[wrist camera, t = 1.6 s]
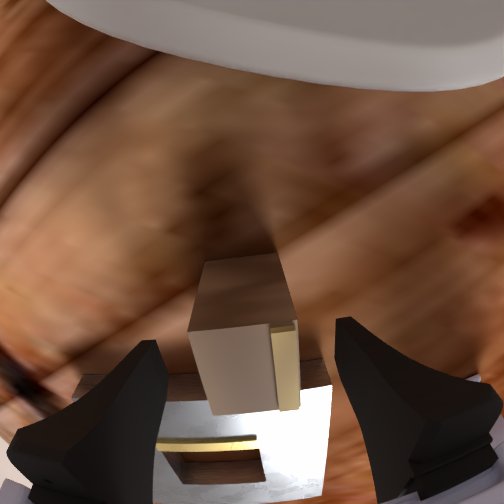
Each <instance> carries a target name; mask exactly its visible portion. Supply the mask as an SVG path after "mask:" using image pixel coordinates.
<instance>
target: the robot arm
mask: <svg viewBox="0 0 504 504" xmlns="http://www.w3.org/2000/svg"><path fill="white" fill-rule="evenodd" d="M335 361H336V365H337V369H338V372H339V376H340V379H341V381H342V384H343V386H344V388H345V391H346V393H347V396H348V398H349V400H350V403H351V405H352V407H353V410H354V412H355V414H356V417H357V419H358V422H359V424H360V427H361V430H362V434H363V438H364V441H365V445H366V449H367V453H368V457H369V461H370V465H371V470H372V475H373V480H374V485H375V491H376V497H377V503H378V504H504V419H503V417H502V416H501V411H502V408H503V401H502V399H501V398H500V397H499V395H498V394H497V393H496V391H495V390H494V389H493V387H492V386H491V385H490V384H487V383H481V382H480V380H481V376H480V375H479V374H478V375H475V376H472V377H470V378H467V379H461V378H458V377H454V376H451V375H448V374H445V373H442V372H439V371H437V370H434V369H431V368H429V367H427V366H424V365H422V364H420V363H418V362H416V361H414V360H412V359H410V358H408V357H407V356H405V355H403V354H401V353H400V352H398V351H397V350H395V349H393V348H392V347H390V346H389V345H387V344H386V343H385V342H383V341H382V340H380V339H379V338H378V337H376V336H375V335H374V334H372V333H371V332H370V331H368V330H367V329H366V328H365V327H363V326H362V325H361V324H360V323H358V322H357V321H356V320H355V319H353V318H352V317H351V316H350V317H344V318H338V319H336V331H335ZM168 381H169V375H168V373H167V370H166V367H165V365H164V362H163V359H162V356H161V354H160V351H159V348H158V345H157V342H156V340H142V341H141V342H140V343H139V344H138V345H137V346H136V347H135V348H134V349H133V350H132V351H131V352H130V353H129V354H128V355H127V356H126V357H125V358H124V359H123V360H122V361H121V362H120V363H119V364H118V365H117V366H116V367H115V368H114V369H113V370H112V371H111V372H110V373H109V374H108V375H107V376H106V377H105V378H104V379H103V380H102V381H101V382H99V383H98V384H97V385H96V386H95V387H94V388H93V389H91V390H90V391H89V392H88V393H86V394H85V395H84V396H82V397H81V398H80V399H78V400H77V401H75V402H73V403H72V404H70V405H69V406H67V407H66V408H64V409H62V410H61V411H59V412H57V413H55V414H53V415H52V416H49V417H47V418H45V419H43V420H41V421H39V422H36V423H34V424H31V425H28V426H26V427H23V428H20V429H18V430H17V432H16V434H15V436H14V438H13V439H12V441H11V443H10V445H9V447H8V449H7V452H6V453H7V456H8V458H9V460H10V462H11V463H12V464H13V465H14V466H15V467H16V468H17V469H18V470H19V471H20V472H21V473H22V474H23V475H24V476H25V477H26V478H27V479H28V480H29V481H30V482H32V483H33V486H32V488H31V489H29V488H28V487H26V486H24V485H22V484H19V483H16V482H14V481H12V480H9V479H5V480H4V482H3V484H2V487H1V489H0V504H153V470H154V457H155V448H156V442H157V437H158V433H159V428H160V424H161V420H162V416H163V412H164V407H165V403H166V399H167V391H168Z"/></svg>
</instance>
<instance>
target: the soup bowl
mask: <svg viewBox="0 0 504 504" xmlns="http://www.w3.org/2000/svg"><path fill="white" fill-rule="evenodd" d="M46 1H47V2H48V3H50V4H51V5H52V6H54V7H55V8H56V9H58V10H59V11H60V12H62V13H64V14H66V15H67V16H69V17H71V18H73V19H75V20H76V21H78V22H80V23H82V24H84V25H86V26H89V27H91V28H93V29H96V30H98V31H100V32H103V33H105V34H107V35H110V36H112V37H115V38H119V39H122V40H125V41H128V42H131V43H134V44H136V45H139V46H142V47H145V48H149V49H153V50H157V51H161V52H164V53H168V54H172V55H175V56H179V57H182V58H186V59H191V60H196V61H200V62H205V63H209V64H213V65H218V66H222V67H226V68H230V69H236V70H242V71H247V72H253V73H258V74H263V75H267V76H272V77H278V78H285V79H292V80H299V81H305V82H310V83H316V84H324V85H333V86H342V87H349V88H357V89H368V90H384V91H396V92H435V91H447V90H459V89H464V88H469V87H474V86H479V85H483V84H486V83H488V82H491V81H494V80H497V79H500V78H502V77H503V76H504V0H46Z"/></svg>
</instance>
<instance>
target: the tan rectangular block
mask: <svg viewBox="0 0 504 504" xmlns="http://www.w3.org/2000/svg"><path fill="white" fill-rule="evenodd" d="M187 333H188V336H189V340H190V344H191V347H192V351H193V354H194V357H195V361H196V364H197V367H198V371H199V374H200V377H201V381H202V384H203V387H204V390H205V393H206V396H207V399H208V402H209V406H210V409H211V412H212V415H213V416H221V415H235V414H247V413H257V412H267V411H275V410H279V412H286V411H294V410H300V407H301V386H300V361H299V340H298V322H297V317H296V313H295V310H294V306H293V303H292V299H291V296H290V292H289V289H288V286H287V282H286V279H285V275H284V272H283V269H282V265H281V262H280V259H279V255H278V252H277V253H269V254H261V255H253V256H245V257H237V258H229V259H221V260H212V261H205V263H204V267H203V271H202V275H201V279H200V282H199V286H198V290H197V294H196V298H195V302H194V306H193V310H192V314H191V318H190V323H189V327H188V331H187Z"/></svg>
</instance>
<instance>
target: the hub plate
mask: <svg viewBox="0 0 504 504" xmlns="http://www.w3.org/2000/svg"><path fill="white" fill-rule="evenodd" d="M168 375H169V381H168V391H167V399H166V403H165V407H164V412H163V416H162V420H161V424H160V428H159V433H158V437H157V442H156V448H155V457H154V470H153V502H154V503H165V504H260V503H271V502H280V501H289V500H296V499H303V498H309V497H315V496H321V494H322V487H323V479H324V471H325V463H326V454H327V444H328V434H329V422H330V410H331V396H332V383H331V380H330V377H329V374H328V371H327V368H326V365H325V362H324V359H323V358H322V359H316V360H310V361H304V362H300V386H301V407H300V410H294V411H286V412H279V410H275V411H267V412H257V413H247V414H235V415H221V416H213V415H212V412H211V409H210V406H209V402H208V399H207V396H206V393H205V390H204V387H203V384H202V381H201V377H200V374H199V373H189V374H168ZM106 376H107V375H87V374H83V376H82V378H81V380H80V382H79V384H78V386H77V388H76V390H75V391H74V393H73V395H72V397H71V398H72V400H73V401H74V402H75V401H77V400H78V399H80V398H81V397H82V396H84V395H85V394H86V393H88V392H89V391H90V390H91V389H93V388H94V387H95V386H96V385H97V384H98V383H99V382H101V381H102V380H103V379H104V378H105V377H106ZM258 445H259V446H258ZM257 448H259V450H260V455H261V459H257V460H245V461H229V462H185V461H184V459H183V457H182V455H181V454H180V452H206V451H231V450H246V449H257Z"/></svg>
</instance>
